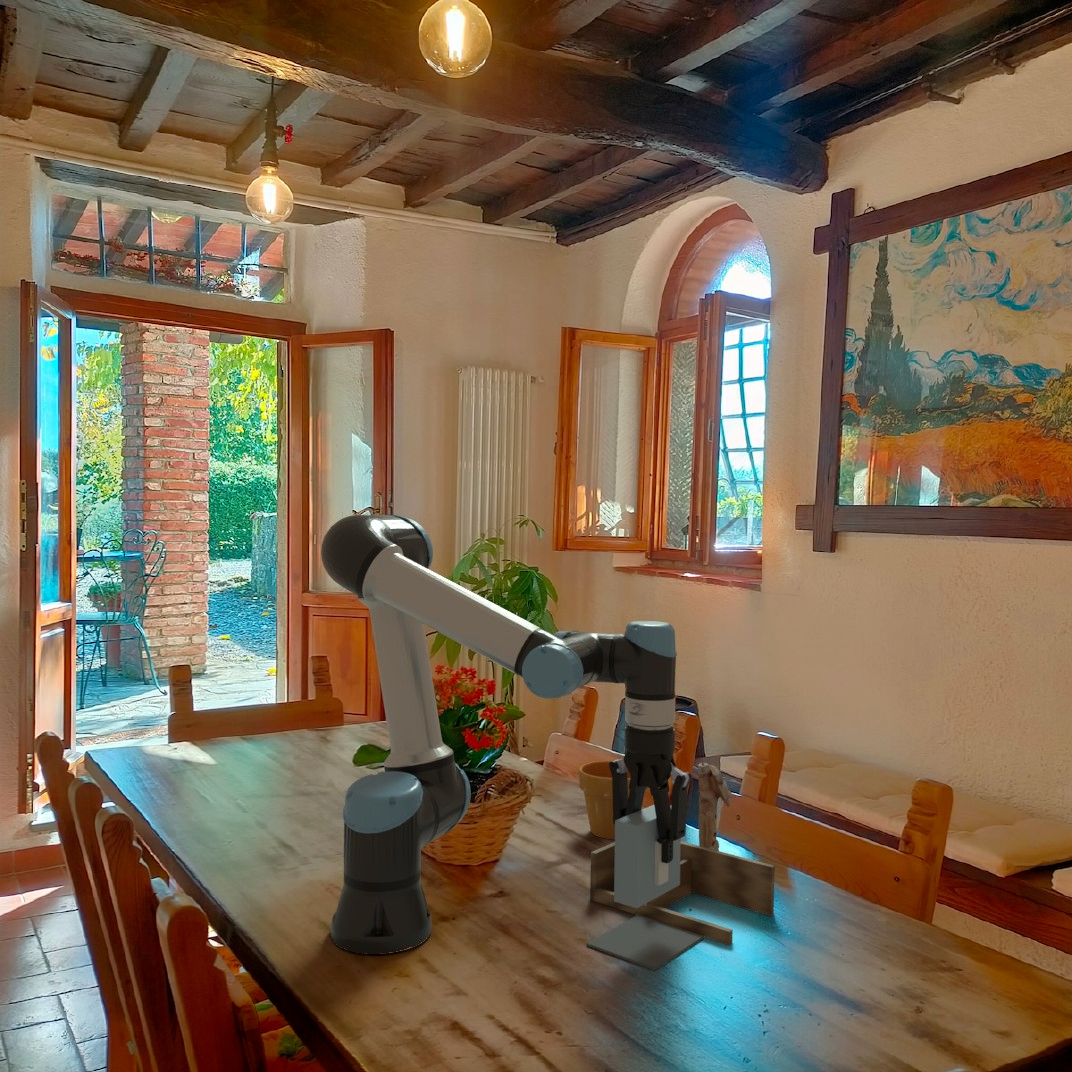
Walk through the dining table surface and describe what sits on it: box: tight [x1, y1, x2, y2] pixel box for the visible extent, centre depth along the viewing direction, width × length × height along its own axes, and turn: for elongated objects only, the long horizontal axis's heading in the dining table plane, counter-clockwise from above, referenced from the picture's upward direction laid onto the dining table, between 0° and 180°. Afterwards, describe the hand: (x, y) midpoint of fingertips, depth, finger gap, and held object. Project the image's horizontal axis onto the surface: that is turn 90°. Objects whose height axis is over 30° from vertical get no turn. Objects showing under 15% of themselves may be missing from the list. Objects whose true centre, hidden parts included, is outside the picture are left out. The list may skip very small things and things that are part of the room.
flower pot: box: [578, 760, 649, 840], centre depth 197 cm, size 14×14×13 cm
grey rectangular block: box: [614, 804, 682, 908], centre depth 146 cm, size 4×12×12 cm, turn 140°
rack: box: [589, 841, 776, 946], centre depth 160 cm, size 26×15×8 cm, turn 50°
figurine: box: [697, 762, 733, 851], centre depth 176 cm, size 10×8×20 cm
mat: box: [586, 914, 705, 971], centre depth 147 cm, size 12×14×1 cm
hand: (648, 878), depth 146 cm, fingers closed on grey rectangular block, 4 cm apart
